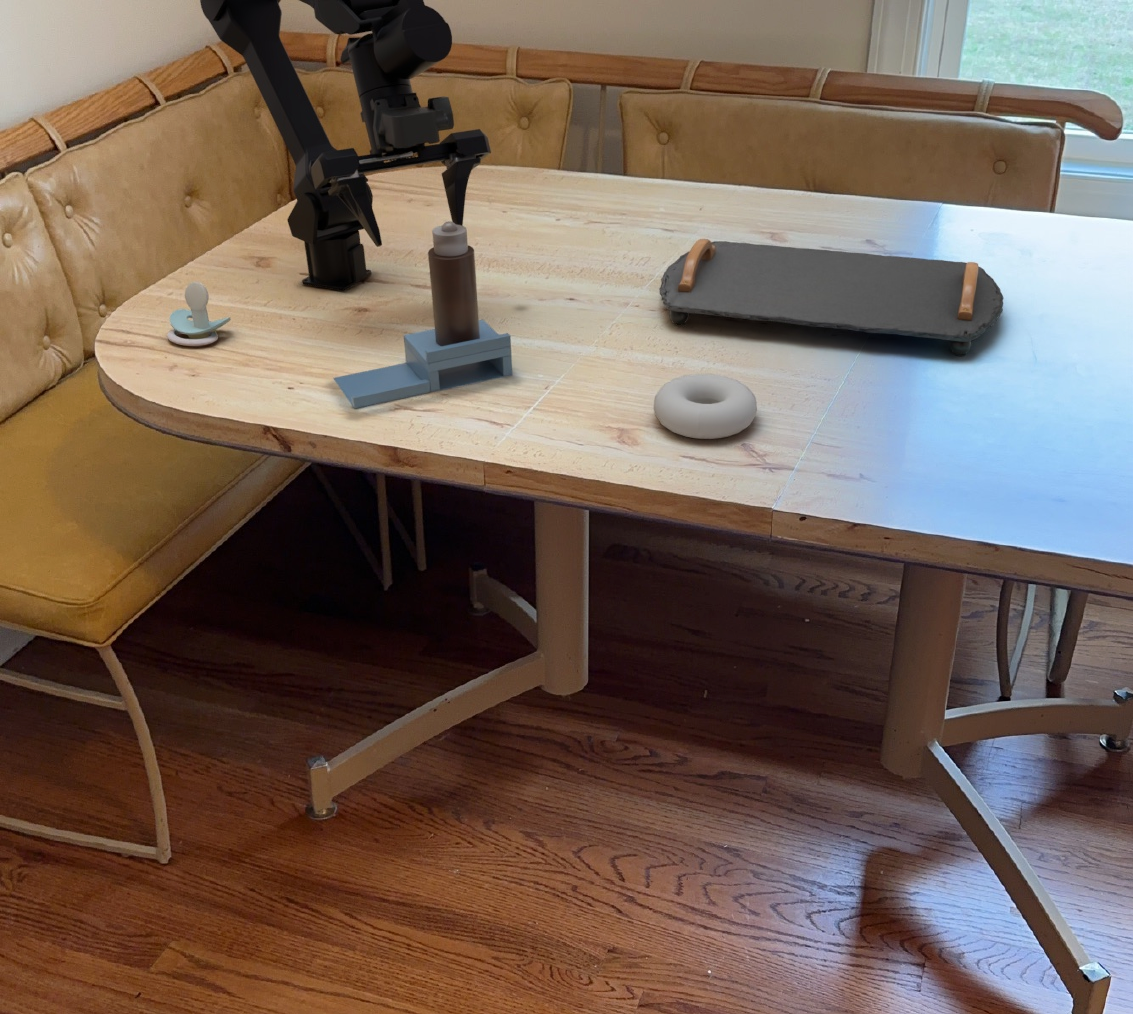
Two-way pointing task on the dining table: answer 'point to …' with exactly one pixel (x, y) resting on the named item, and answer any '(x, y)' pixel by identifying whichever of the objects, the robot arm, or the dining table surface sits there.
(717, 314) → the serving tray
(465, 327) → the pepper mill
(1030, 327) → the dining table surface
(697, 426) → the donut
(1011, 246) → the dining table surface
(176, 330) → the pacifier
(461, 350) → the riser
